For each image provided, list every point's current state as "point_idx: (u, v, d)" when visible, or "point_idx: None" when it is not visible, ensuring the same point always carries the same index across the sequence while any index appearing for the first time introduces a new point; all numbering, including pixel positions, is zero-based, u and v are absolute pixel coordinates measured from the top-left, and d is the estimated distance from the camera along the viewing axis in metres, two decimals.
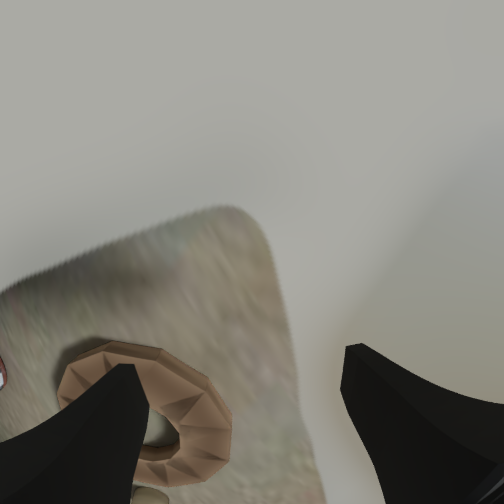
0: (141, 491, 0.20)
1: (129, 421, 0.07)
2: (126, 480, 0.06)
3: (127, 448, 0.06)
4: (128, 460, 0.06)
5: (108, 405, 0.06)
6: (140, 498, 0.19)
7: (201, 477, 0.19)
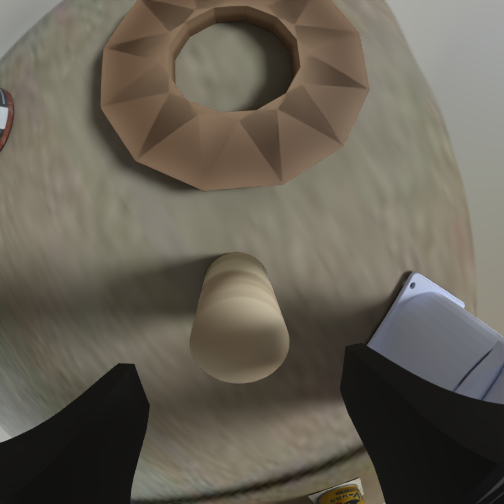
0: (219, 260, 0.16)
1: (129, 421, 0.07)
2: (125, 480, 0.06)
3: (127, 448, 0.06)
4: (128, 460, 0.06)
5: (108, 405, 0.06)
6: (220, 265, 0.15)
7: (337, 134, 0.14)
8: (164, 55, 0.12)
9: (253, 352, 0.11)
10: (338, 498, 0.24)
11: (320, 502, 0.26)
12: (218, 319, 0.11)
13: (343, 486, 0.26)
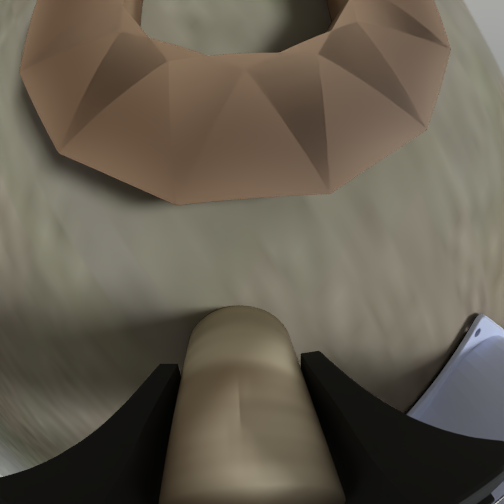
0: (211, 322, 0.09)
1: None
2: None
3: None
4: None
5: (159, 409, 0.06)
6: (213, 339, 0.08)
7: (417, 109, 0.07)
8: None
9: None
10: None
11: None
12: (209, 501, 0.03)
13: None
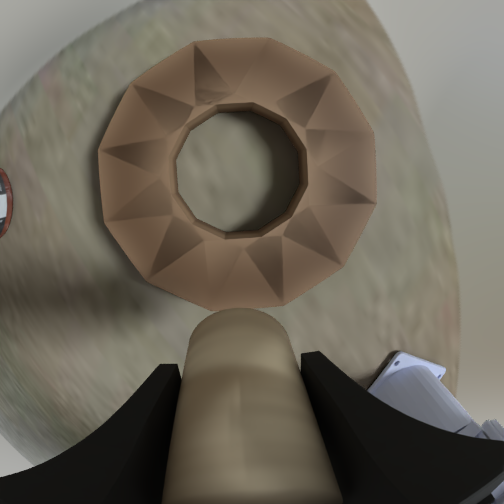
0: (211, 324, 0.09)
1: None
2: None
3: None
4: None
5: (159, 409, 0.06)
6: (213, 341, 0.08)
7: (338, 256, 0.15)
8: (164, 167, 0.14)
9: None
10: None
11: None
12: (211, 503, 0.04)
13: None
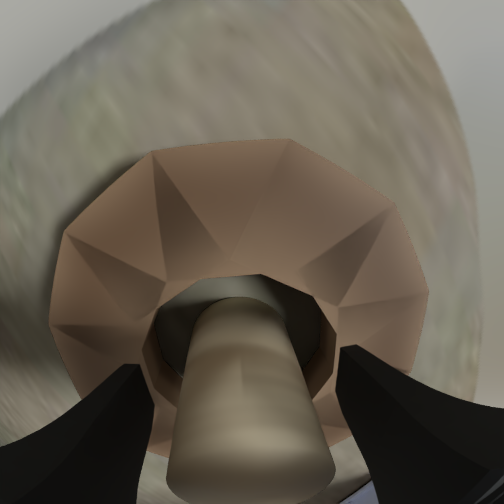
0: (214, 311, 0.10)
1: (135, 422, 0.07)
2: (131, 481, 0.06)
3: (133, 449, 0.06)
4: (134, 461, 0.06)
5: (114, 406, 0.06)
6: (216, 325, 0.09)
7: None
8: (138, 358, 0.09)
9: (274, 491, 0.05)
10: None
11: None
12: (214, 464, 0.04)
13: None
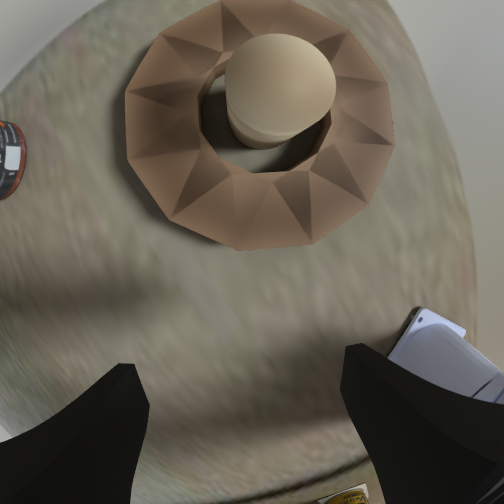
0: None
1: (129, 421, 0.07)
2: (126, 480, 0.06)
3: (127, 448, 0.06)
4: (128, 460, 0.06)
5: (108, 405, 0.06)
6: None
7: (363, 194, 0.15)
8: (192, 105, 0.13)
9: (297, 87, 0.09)
10: (345, 502, 0.26)
11: None
12: (260, 47, 0.08)
13: (350, 491, 0.27)
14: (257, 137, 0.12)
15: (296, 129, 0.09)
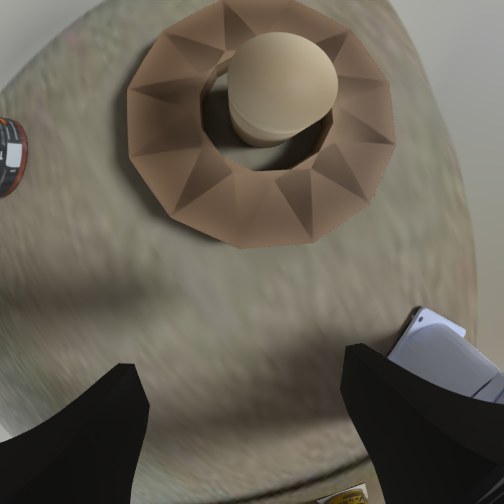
0: None
1: (129, 421, 0.07)
2: (126, 480, 0.06)
3: (127, 448, 0.06)
4: (128, 460, 0.06)
5: (108, 405, 0.06)
6: None
7: (364, 193, 0.15)
8: (194, 103, 0.13)
9: (299, 86, 0.09)
10: (345, 502, 0.26)
11: None
12: (262, 45, 0.08)
13: (350, 491, 0.27)
14: (259, 135, 0.12)
15: (298, 127, 0.09)
